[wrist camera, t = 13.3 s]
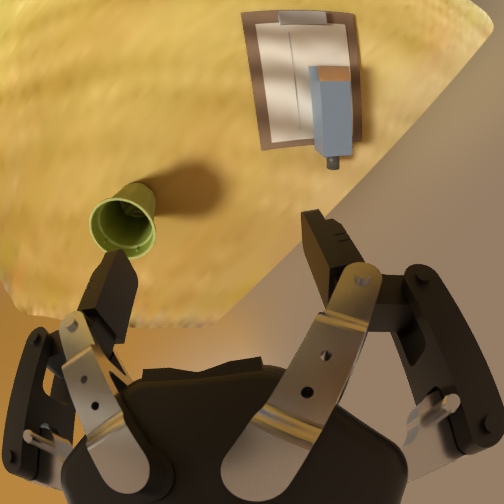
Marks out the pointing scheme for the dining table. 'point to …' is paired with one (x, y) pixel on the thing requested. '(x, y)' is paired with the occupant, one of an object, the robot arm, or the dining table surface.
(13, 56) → the dining table surface
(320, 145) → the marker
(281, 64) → the clipboard
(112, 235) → the plant pot
